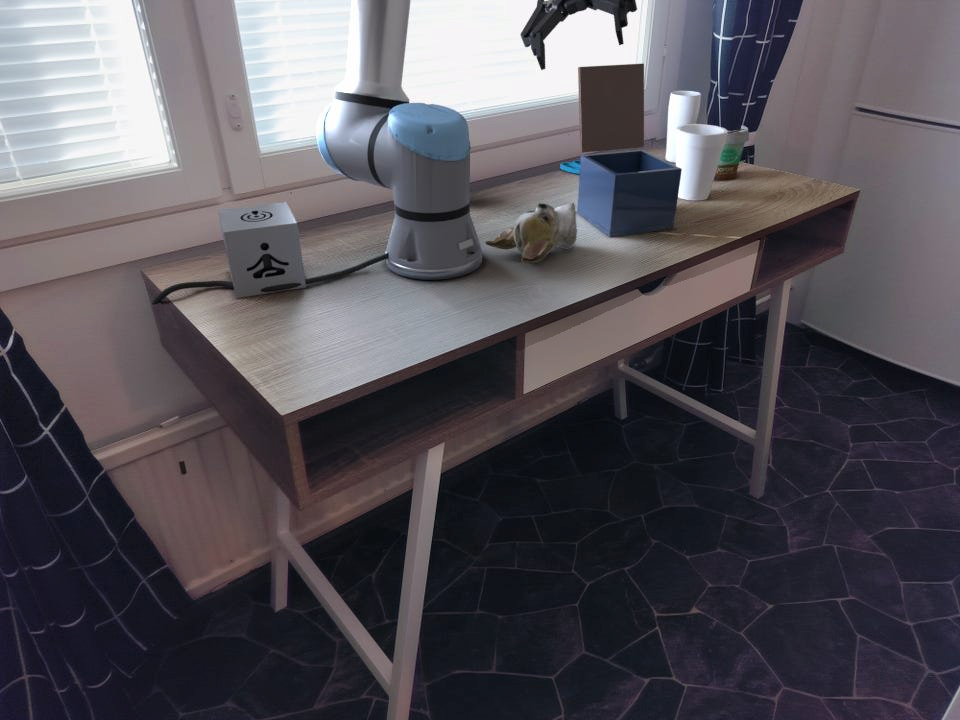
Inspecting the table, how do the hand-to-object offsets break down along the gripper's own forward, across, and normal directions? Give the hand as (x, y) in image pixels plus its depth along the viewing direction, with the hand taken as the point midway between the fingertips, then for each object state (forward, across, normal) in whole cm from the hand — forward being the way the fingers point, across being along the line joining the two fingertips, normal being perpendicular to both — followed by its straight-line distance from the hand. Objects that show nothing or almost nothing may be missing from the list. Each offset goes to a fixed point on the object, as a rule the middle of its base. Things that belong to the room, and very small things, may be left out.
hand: (579, 51), depth 120 cm
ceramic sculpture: (+32, +12, -12) cm, 36 cm away
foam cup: (+4, -13, -38) cm, 40 cm away
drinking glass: (-19, -10, -50) cm, 55 cm away
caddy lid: (+2, -3, -12) cm, 13 cm away
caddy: (+17, -1, -25) cm, 30 cm away
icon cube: (+42, +48, +8) cm, 64 cm away
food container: (-7, -19, -47) cm, 51 cm away
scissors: (-8, +6, -37) cm, 38 cm away
